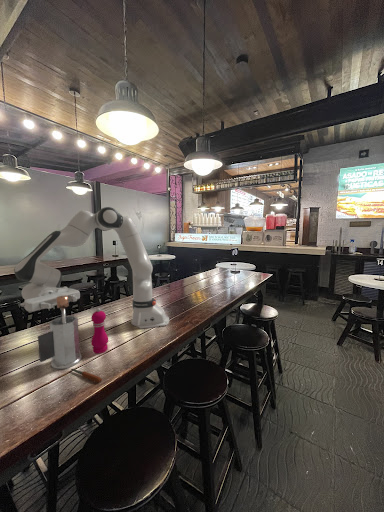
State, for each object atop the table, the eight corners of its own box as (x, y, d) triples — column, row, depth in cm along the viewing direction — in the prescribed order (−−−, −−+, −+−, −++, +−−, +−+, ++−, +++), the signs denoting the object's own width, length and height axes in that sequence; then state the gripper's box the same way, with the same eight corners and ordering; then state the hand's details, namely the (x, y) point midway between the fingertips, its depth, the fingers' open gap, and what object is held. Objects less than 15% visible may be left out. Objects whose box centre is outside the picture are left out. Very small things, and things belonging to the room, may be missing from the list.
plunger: (77, 352, 93) (73, 294, 90) (70, 361, 87) (66, 299, 84) (62, 353, 93) (58, 294, 90) (55, 361, 87) (50, 299, 84)
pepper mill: (95, 346, 102) (93, 305, 100) (110, 345, 103) (108, 305, 100) (89, 354, 95) (86, 311, 93) (105, 354, 96) (104, 310, 93)
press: (85, 353, 96) (83, 314, 94) (70, 373, 83) (67, 328, 80) (59, 354, 95) (56, 315, 93) (39, 374, 82) (35, 329, 80)
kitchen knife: (102, 382, 78) (101, 377, 78) (99, 384, 77) (98, 379, 77) (72, 370, 85) (72, 366, 85) (69, 372, 84) (69, 368, 83)
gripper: (17, 296, 85) (33, 302, 78) (69, 285, 102) (86, 289, 95) (18, 311, 85) (35, 319, 78) (70, 298, 103) (87, 303, 96)
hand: (63, 302), depth 87 cm, fingers open, 8 cm apart
